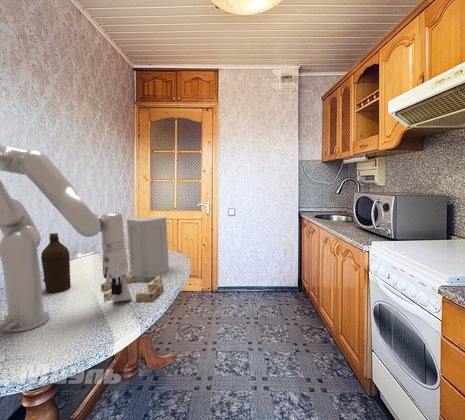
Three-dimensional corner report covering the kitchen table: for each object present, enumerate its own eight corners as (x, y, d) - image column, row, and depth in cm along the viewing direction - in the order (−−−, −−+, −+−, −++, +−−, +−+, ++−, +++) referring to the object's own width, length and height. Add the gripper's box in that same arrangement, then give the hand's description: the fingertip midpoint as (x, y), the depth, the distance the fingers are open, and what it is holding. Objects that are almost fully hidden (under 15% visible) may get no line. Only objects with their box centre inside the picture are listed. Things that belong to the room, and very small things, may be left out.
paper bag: (125, 280, 137) (121, 222, 135) (132, 271, 152) (128, 218, 150) (166, 277, 140) (163, 220, 137) (169, 268, 154) (166, 216, 152)
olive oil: (77, 285, 132) (73, 231, 130) (61, 294, 122) (56, 235, 120) (55, 285, 133) (50, 231, 131) (38, 293, 123) (32, 235, 121)
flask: (123, 302, 107) (124, 274, 108) (107, 301, 109) (108, 274, 110) (135, 298, 114) (135, 272, 115) (119, 298, 116) (120, 272, 117)
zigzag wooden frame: (151, 302, 110) (151, 294, 110) (87, 300, 114) (86, 293, 113) (172, 281, 133) (172, 275, 133) (117, 280, 137) (117, 274, 136)
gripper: (111, 250, 99) (115, 302, 100) (133, 241, 113) (135, 287, 115) (91, 250, 100) (95, 301, 102) (115, 241, 115) (118, 286, 116)
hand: (117, 293), depth 108 cm, fingers closed
